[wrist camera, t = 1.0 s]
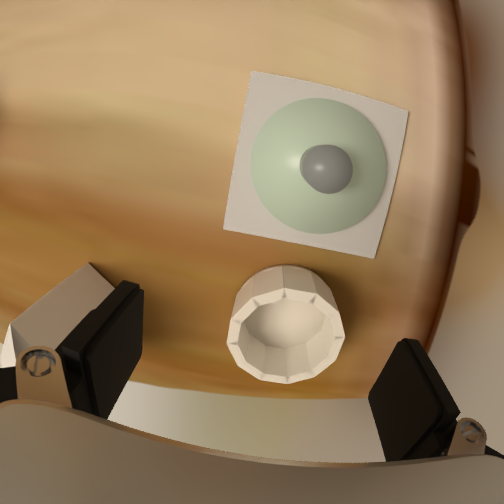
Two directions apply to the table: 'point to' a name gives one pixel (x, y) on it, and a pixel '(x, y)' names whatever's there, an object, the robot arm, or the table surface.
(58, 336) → the milk carton
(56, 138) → the table surface
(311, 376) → the bowl
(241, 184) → the mat
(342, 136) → the lid
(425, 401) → the robot arm
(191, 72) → the table surface
